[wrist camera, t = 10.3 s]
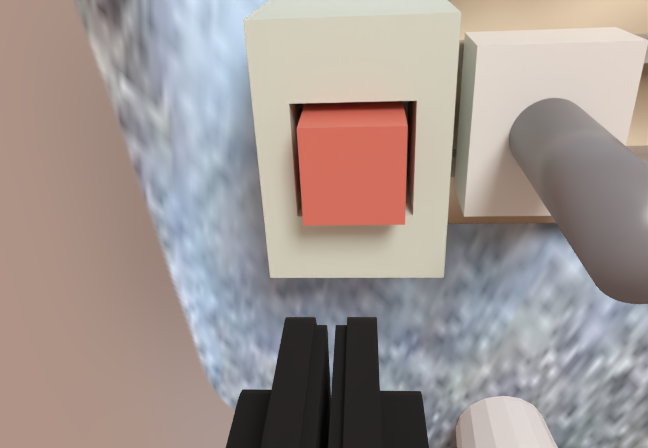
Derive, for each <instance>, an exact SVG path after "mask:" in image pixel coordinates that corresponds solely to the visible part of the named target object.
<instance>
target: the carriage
mask: <svg viewBox="0 0 648 448" xmlns="http://www.w3.org/2000/svg"><path fill="white" fill-rule="evenodd" d="M647 46H648V40H647V39H644V38H642V37H639V36H637V35H634V34H632V33H629V32H627V31H624V30H622V29H620V28H617V27H601V28H572V29H542V30H513V31H483V32H465V37H464V51H463V65H462V80H461V94H460V108H459V123H458V137H457V152H456V166H455V180H454V189H455V192H456V195H457V198H458V201H459V204H460V207H461V210H462V213H463V216H464V217H474V216H552V217H553V219H554V221H555V222H556V224H557V225H558V227H559V228H560V230H561V232H562V233H563V235H564V236H565V238H566V239H567V241H568V242H569V244H570V246H571V247H572V249H573V250H574V252H575V253H576V255H577V256H578V258H579V260H580V261H581V263H582V264H583V266H584V267H585V269H586V270H587V272H588V274H589V275H590V277H591V278H592V280H593V281H594V283H595V285H596V286H597V287H598V288H599V289H600V290H601V291H602V292H603V293H604V294H606V295H607V296H609V297H611V298H613V299H615V300H618V301H621V302H625V303H631V304H647V303H648V164H646V163H645V162H644V161H643V160H642V159H640V158H639V157H638V156H637V155H636V154H635V153H633V152H632V151H631V150H630V149H629V148H627V147H626V143H627V139H628V134H629V129H630V125H631V120H632V115H633V111H634V106H635V102H636V97H637V92H638V88H639V83H640V78H641V74H642V69H643V65H644V60H645V55H646V51H647Z"/></svg>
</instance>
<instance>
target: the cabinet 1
mask: <svg viewBox="0 0 648 448" xmlns="http://www.w3.org/2000/svg"><path fill="white" fill-rule="evenodd" d="M243 22H244V31H245V41H246V51H247V60H248V70H249V79H250V89H251V99H252V108H253V118H254V128H255V137H256V147H257V156H258V166H259V176H260V185H261V195H262V204H263V214H264V224H265V233H266V243H267V252H268V262H269V272H270V278H444V268H445V252H446V237H447V222H448V207H449V192H450V176H451V161H452V146H453V131H454V116H455V100H456V85H457V70H458V55H459V40H460V24H461V12H460V11H459V10H458V9H457V8H456V7H455V6H454V5H453V4H452V3H450V2H449V1H448V0H269V1H267V2H266V3H265V4H264V5H262V6H261V7H260V8H258V9H257V10H256V11H255V12H253V13H252V14H251V15H250V16H248V17H247V18H246V19H244V20H243ZM379 101H403V106H404V111H405V115H406V120H407V125H408V135H407V172H406V210H405V225H312V226H303V214H302V199H301V185H300V170H299V155H298V141H297V126H298V123H299V120H300V117H301V114H302V111H303V108H304V105H305V103H339V102H379Z"/></svg>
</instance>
